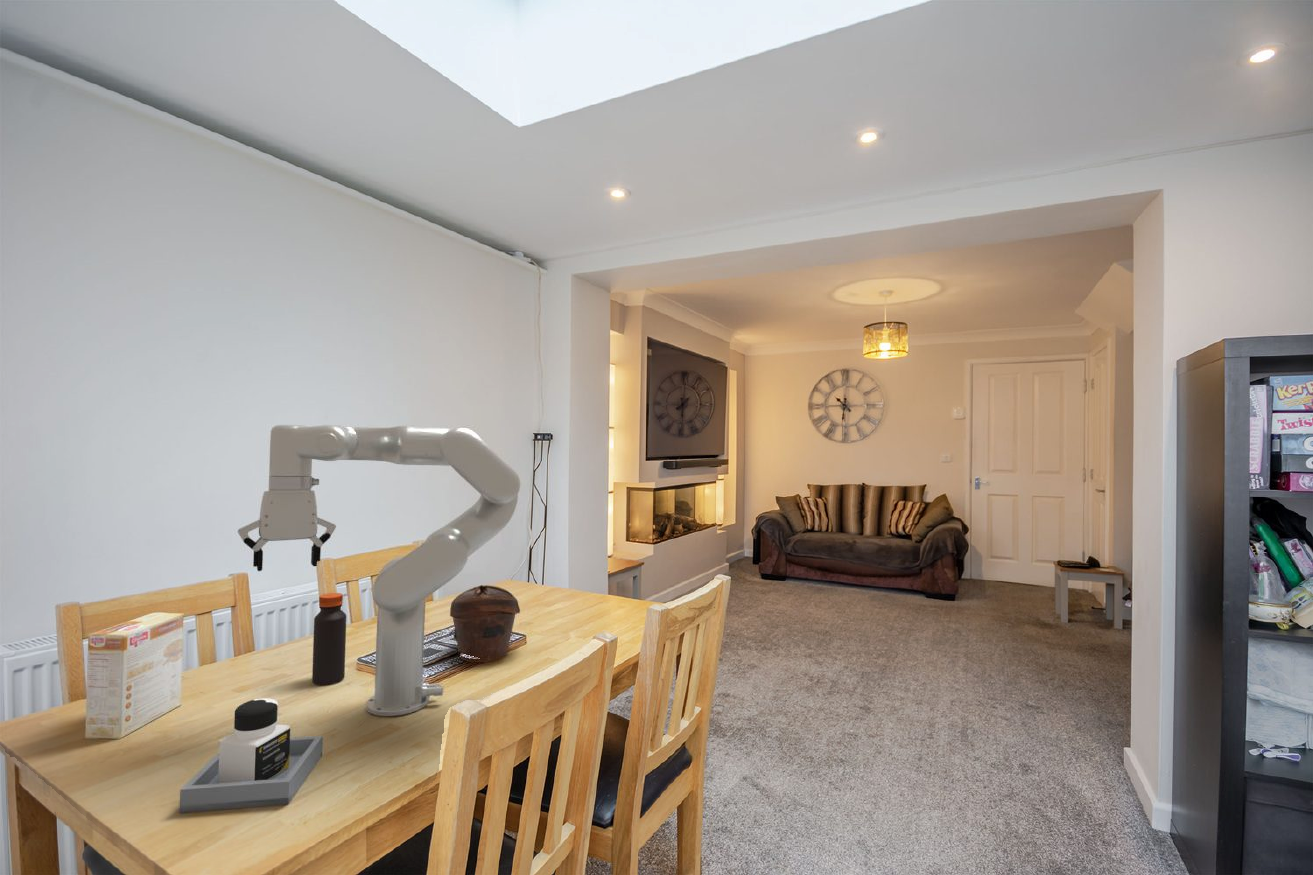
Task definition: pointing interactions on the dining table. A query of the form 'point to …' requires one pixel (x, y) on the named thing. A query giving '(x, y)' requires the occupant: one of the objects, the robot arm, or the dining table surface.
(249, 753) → the medicine bottle
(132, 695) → the coffeecake box
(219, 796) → the grey tray
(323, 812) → the dining table surface
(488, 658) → the brown lidded pot
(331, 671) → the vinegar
